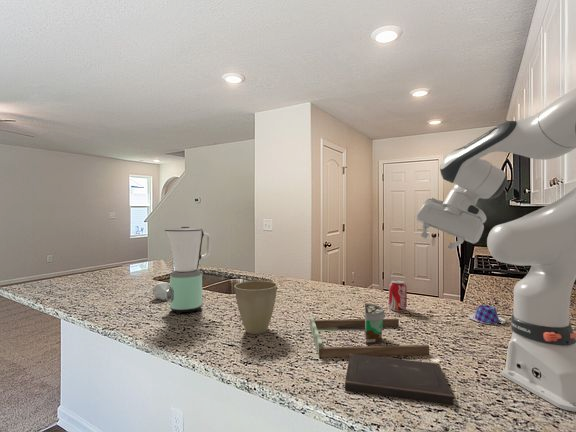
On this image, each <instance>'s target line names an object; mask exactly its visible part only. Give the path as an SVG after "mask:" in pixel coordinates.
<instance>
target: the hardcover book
mask: <svg viewBox="0 0 576 432" xmlns="http://www.w3.org/2000/svg"><path fill="white" fill-rule="evenodd" d="M344 391H346V392H353V393H360V394H366V395H367V394H369V395H374V396H379V397H380V396H382V397H387V398H388V397H389V398H395V399H402V400H403V399H404V400H411V401H416V402H418V401H419V402H424V403H431V404H432V403H433V404H437V405H438V404H439V405H444V406H445V405H448V406H454V396H453V394H452V390H451V388H450V386H449V383H448V381H447V379H446V377H445V374H444V372H443V370H442V367H441V365H440V363H435V362H426V361H419V360H410V359H399V358H392V357H391V358H389V357H384V356H364V355H355V354H350V356H349V357H348V363H347V369H346V374H345V380H344Z"/></svg>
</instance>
